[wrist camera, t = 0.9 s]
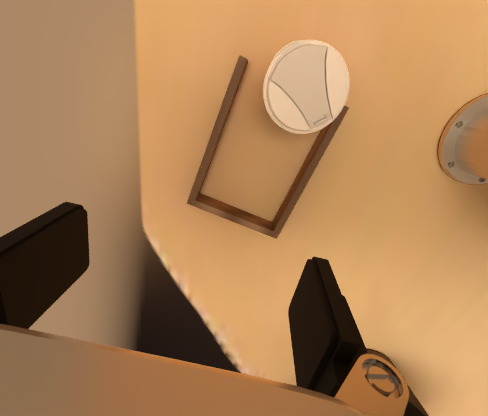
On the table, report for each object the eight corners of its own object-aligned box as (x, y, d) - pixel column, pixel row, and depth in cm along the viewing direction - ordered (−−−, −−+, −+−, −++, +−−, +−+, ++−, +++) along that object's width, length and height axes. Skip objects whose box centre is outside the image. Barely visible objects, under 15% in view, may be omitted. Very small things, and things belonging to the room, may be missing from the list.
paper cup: (326, 104, 35) (366, 109, 22) (275, 131, 37) (285, 150, 24) (304, 45, 32) (335, 13, 20) (250, 77, 34) (246, 67, 21)
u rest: (341, 106, 35) (348, 107, 32) (275, 229, 43) (276, 238, 41) (240, 58, 33) (239, 55, 31) (191, 196, 42) (186, 203, 39)
